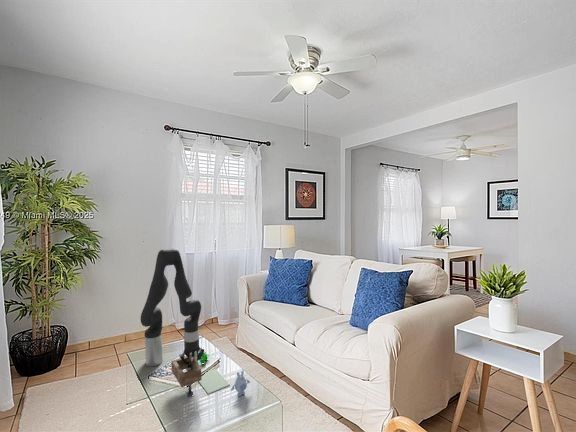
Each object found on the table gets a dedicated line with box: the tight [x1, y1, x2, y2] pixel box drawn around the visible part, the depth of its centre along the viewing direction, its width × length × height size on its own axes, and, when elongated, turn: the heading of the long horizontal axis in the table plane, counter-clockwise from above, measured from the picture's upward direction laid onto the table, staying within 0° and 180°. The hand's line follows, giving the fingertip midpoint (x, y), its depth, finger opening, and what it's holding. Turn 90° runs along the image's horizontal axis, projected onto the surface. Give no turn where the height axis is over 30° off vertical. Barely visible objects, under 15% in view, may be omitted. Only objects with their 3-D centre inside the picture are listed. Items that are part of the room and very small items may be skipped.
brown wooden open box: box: [171, 355, 202, 388], centre depth 162 cm, size 16×10×6 cm, turn 36°
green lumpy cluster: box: [197, 350, 210, 365], centre depth 190 cm, size 15×15×7 cm
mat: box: [198, 368, 230, 395], centre depth 171 cm, size 18×12×1 cm, turn 36°
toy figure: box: [231, 370, 251, 397], centre depth 160 cm, size 11×6×12 cm, turn 127°
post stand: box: [186, 367, 194, 398], centre depth 159 cm, size 3×3×14 cm
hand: (192, 369), depth 167 cm, fingers closed on brown wooden open box
